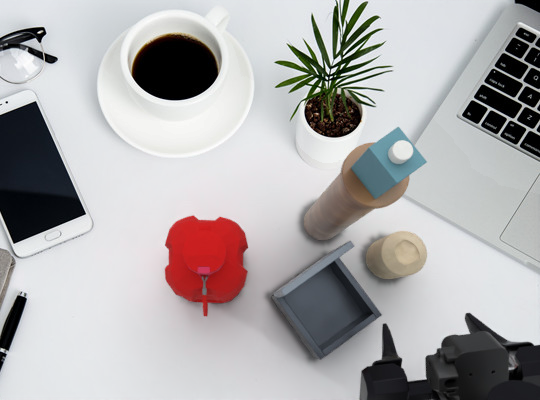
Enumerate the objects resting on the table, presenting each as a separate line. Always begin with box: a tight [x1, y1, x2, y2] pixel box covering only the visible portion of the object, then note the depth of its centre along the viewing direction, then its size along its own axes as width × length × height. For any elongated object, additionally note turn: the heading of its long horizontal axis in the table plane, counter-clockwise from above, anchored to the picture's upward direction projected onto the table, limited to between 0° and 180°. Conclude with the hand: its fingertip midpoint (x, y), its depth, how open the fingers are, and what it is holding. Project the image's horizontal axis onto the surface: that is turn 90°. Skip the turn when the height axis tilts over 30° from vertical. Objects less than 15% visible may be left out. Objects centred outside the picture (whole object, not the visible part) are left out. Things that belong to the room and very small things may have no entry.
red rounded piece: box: [164, 215, 249, 318], centre depth 72 cm, size 9×11×25 cm
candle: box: [365, 230, 428, 280], centre depth 79 cm, size 6×6×10 cm
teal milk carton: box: [351, 126, 428, 199], centre depth 51 cm, size 4×3×8 cm
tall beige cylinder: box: [303, 141, 410, 241], centre depth 70 cm, size 6×6×30 cm
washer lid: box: [272, 240, 355, 298], centre depth 73 cm, size 10×10×1 cm
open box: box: [270, 257, 383, 360], centre depth 80 cm, size 10×10×6 cm
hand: (425, 320), depth 68 cm, fingers open, 9 cm apart
